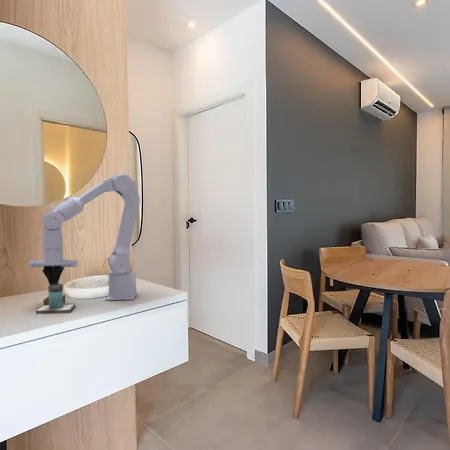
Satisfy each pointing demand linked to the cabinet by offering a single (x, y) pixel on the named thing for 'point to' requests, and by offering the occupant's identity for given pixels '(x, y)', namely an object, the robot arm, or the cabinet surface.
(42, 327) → the cabinet surface
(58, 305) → the cylinder
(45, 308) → the drawing pad
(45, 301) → the button collar
